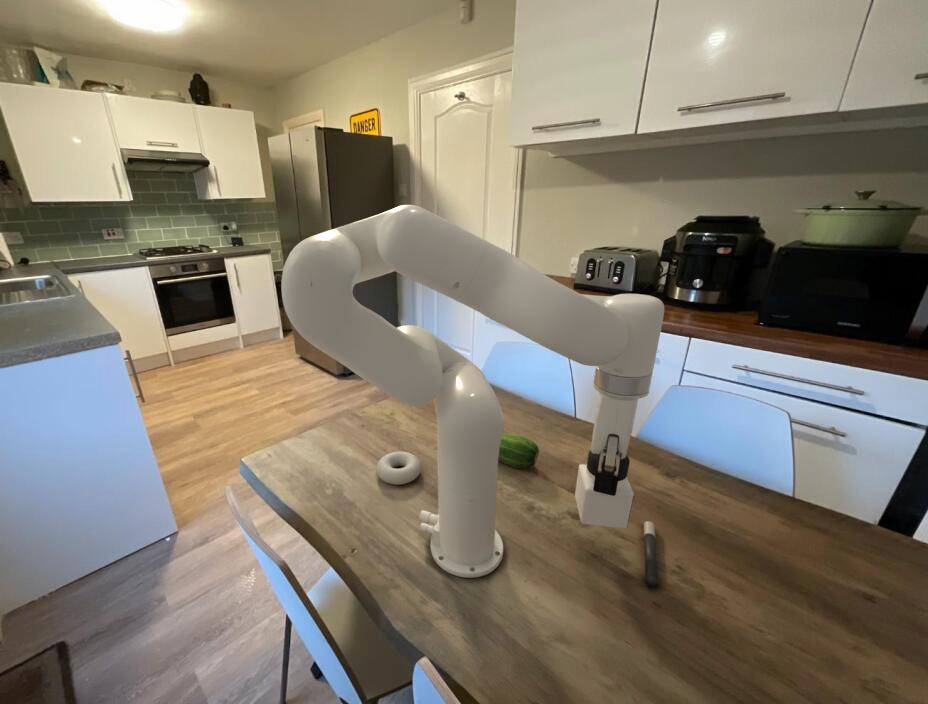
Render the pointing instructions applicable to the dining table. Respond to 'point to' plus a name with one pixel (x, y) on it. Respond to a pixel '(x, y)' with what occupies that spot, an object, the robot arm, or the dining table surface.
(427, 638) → the dining table surface
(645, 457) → the dining table surface
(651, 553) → the marker
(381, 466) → the donut
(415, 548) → the dining table surface
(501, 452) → the vegetable
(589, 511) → the white block black top
